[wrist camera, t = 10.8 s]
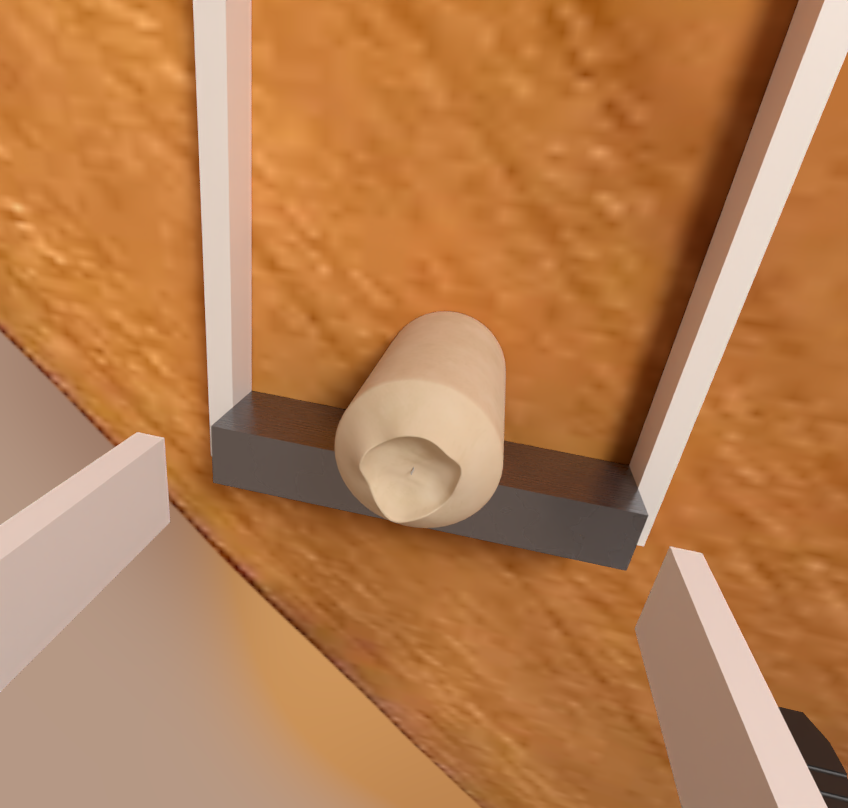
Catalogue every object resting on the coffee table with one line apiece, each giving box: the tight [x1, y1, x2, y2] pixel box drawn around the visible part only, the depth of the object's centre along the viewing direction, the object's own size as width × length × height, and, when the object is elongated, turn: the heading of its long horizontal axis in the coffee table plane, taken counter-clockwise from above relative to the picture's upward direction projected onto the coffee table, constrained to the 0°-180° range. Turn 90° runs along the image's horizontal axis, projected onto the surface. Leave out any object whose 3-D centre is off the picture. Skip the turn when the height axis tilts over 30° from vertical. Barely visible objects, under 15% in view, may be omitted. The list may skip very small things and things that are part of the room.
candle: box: [335, 311, 506, 528], centre depth 20 cm, size 6×6×10 cm
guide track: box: [193, 0, 848, 570], centre depth 20 cm, size 25×21×4 cm
